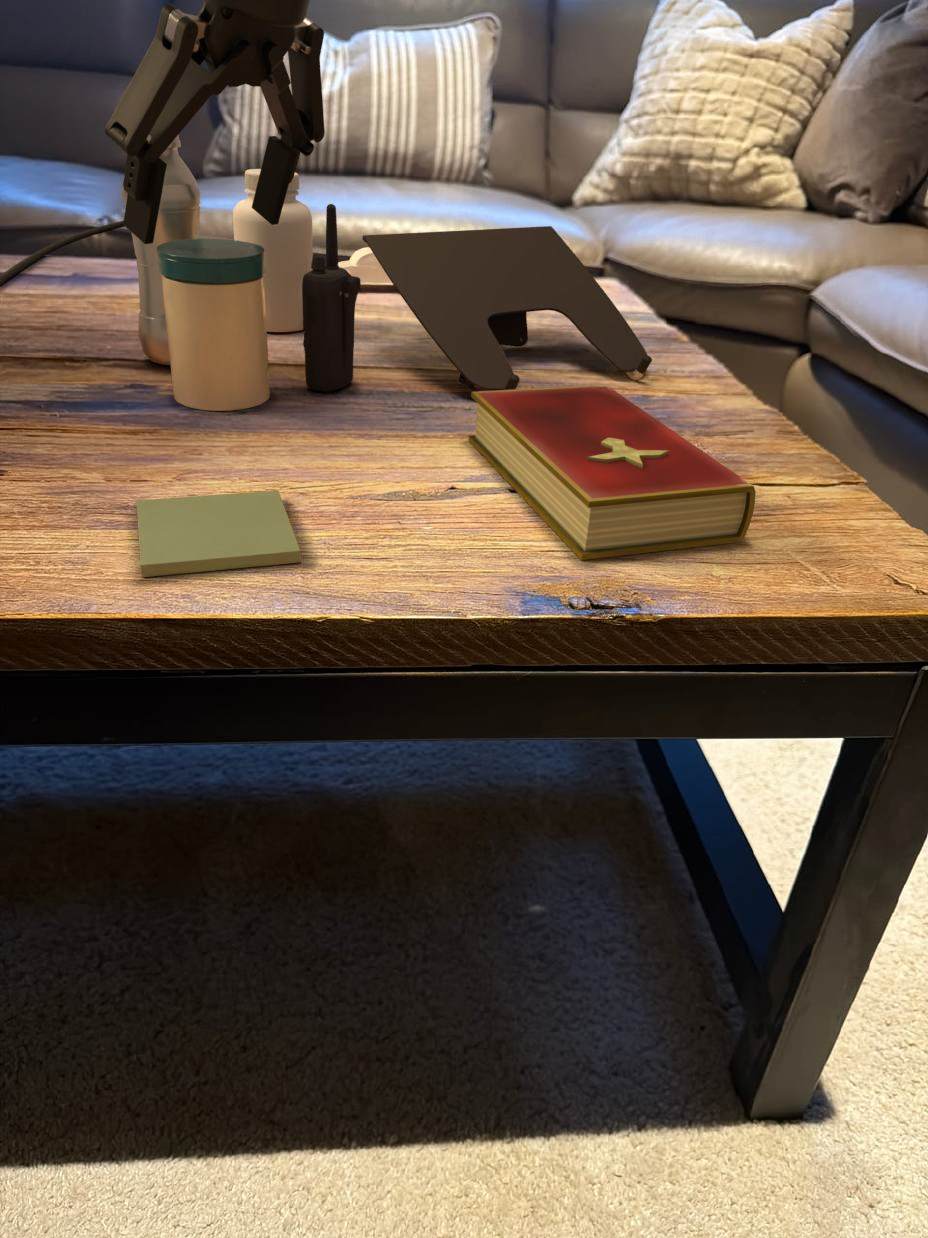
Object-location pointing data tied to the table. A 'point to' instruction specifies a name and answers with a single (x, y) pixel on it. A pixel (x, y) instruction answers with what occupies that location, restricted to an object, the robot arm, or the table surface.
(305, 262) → the pill bottle
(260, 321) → the jar
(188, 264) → the jar lid
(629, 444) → the hardcover book
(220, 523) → the coaster
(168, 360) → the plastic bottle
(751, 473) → the table surface
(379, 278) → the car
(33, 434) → the table surface
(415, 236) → the laptop tray
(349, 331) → the two-way radio
